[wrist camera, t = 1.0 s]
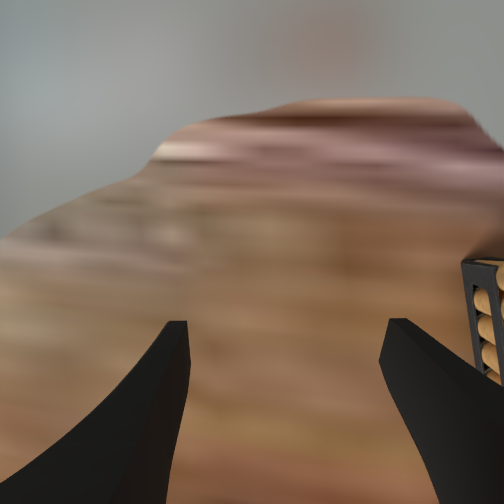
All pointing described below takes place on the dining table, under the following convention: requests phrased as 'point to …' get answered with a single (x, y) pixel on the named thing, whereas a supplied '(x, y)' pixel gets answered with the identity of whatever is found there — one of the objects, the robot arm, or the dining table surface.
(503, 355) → the ammunition clip
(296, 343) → the dining table surface
